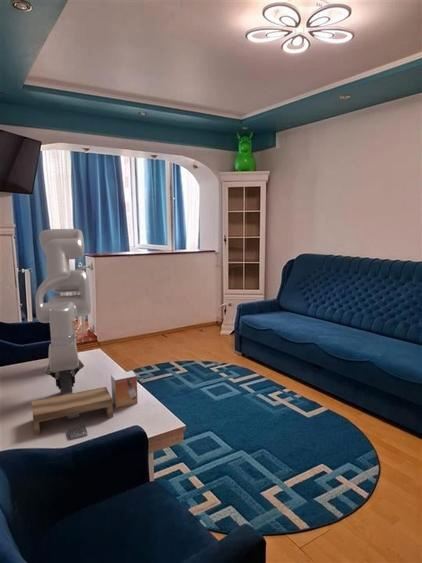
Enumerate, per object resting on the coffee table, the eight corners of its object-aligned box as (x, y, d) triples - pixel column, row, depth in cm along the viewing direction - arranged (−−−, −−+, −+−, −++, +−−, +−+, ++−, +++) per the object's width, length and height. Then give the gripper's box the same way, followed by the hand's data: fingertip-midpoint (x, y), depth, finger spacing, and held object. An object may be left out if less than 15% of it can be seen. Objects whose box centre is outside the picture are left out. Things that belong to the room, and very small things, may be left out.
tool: (60, 392, 149) (58, 367, 147) (71, 390, 151) (69, 365, 149) (67, 419, 130) (64, 390, 128) (79, 416, 131) (77, 388, 130)
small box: (115, 408, 137) (114, 380, 135) (111, 401, 142) (110, 374, 140) (138, 403, 140) (137, 375, 138) (133, 396, 145) (132, 370, 143)
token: (68, 432, 123) (68, 427, 123) (84, 428, 125) (84, 423, 125) (70, 440, 119) (70, 436, 119) (87, 436, 121) (87, 431, 121)
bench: (33, 419, 130) (31, 401, 129) (106, 403, 140) (105, 386, 139) (34, 435, 121) (32, 415, 120) (113, 416, 131) (112, 398, 130)
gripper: (84, 333, 151) (87, 378, 155) (36, 340, 144) (41, 387, 147) (87, 339, 145) (90, 386, 148) (38, 346, 137) (42, 395, 141)
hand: (65, 386), depth 148 cm, fingers closed on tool, 3 cm apart
